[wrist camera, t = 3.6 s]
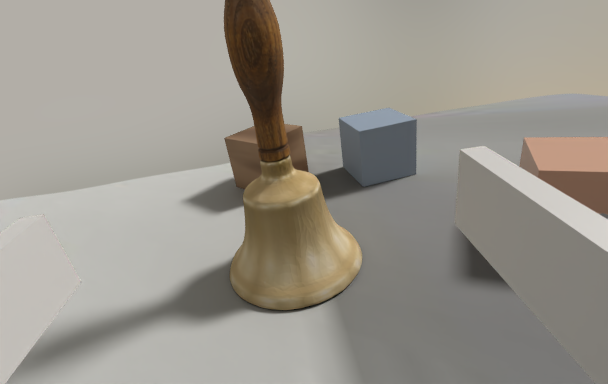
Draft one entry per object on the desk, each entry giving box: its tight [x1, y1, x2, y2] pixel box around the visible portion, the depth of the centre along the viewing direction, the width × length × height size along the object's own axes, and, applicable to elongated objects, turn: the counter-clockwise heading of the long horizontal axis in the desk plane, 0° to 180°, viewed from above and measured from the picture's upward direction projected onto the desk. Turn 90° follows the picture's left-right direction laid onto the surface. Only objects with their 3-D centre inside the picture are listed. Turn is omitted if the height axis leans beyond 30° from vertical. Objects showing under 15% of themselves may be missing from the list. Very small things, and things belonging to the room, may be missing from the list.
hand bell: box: [224, 0, 362, 310], centre depth 18 cm, size 8×8×16 cm
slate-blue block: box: [339, 108, 417, 187], centre depth 31 cm, size 5×5×5 cm
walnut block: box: [225, 124, 308, 189], centre depth 32 cm, size 5×5×5 cm
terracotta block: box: [519, 137, 608, 215], centre depth 20 cm, size 5×5×5 cm
